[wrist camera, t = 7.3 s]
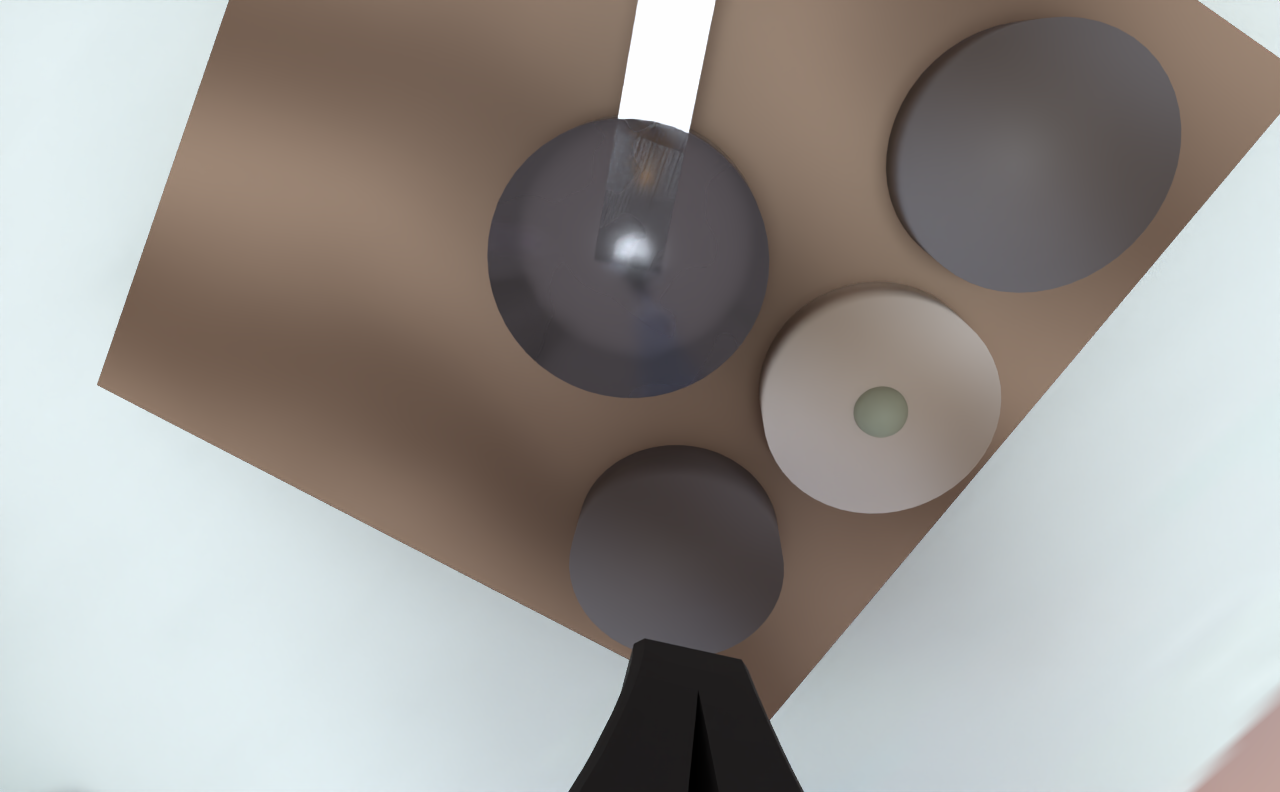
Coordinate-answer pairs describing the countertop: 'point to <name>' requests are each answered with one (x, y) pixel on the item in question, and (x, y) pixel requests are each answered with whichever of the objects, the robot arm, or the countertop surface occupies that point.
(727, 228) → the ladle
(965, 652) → the countertop surface
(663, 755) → the robot arm
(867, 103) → the base
